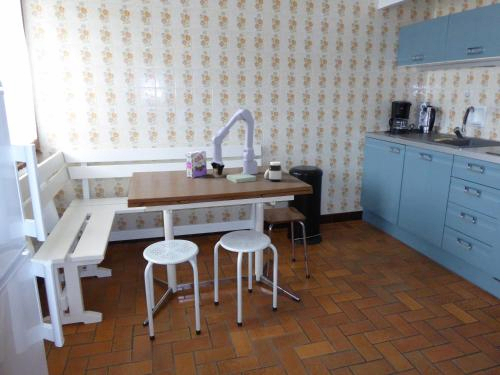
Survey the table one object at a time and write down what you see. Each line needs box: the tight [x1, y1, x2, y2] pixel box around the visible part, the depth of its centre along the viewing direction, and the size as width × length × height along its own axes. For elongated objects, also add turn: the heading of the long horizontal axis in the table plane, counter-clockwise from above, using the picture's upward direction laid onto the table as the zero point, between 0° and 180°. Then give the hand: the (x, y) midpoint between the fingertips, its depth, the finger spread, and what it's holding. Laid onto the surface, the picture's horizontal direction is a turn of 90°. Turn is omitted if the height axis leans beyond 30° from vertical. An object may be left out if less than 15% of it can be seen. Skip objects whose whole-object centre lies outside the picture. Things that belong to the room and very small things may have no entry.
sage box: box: [226, 172, 257, 184], centre depth 248 cm, size 14×14×3 cm
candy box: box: [185, 150, 208, 179], centre depth 258 cm, size 14×6×16 cm, turn 143°
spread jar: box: [263, 161, 283, 183], centre depth 245 cm, size 12×11×12 cm
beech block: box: [212, 168, 224, 178], centre depth 258 cm, size 5×5×5 cm
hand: (217, 174), depth 258 cm, fingers open, 7 cm apart
